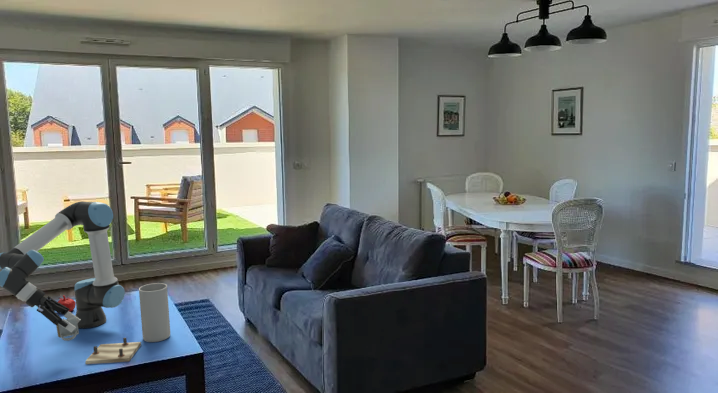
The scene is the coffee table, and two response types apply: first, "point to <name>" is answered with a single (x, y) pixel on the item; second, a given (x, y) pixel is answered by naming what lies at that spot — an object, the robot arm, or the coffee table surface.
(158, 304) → the cylinder vase
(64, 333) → the ceramic mug
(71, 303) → the red pumpkin
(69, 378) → the coffee table surface
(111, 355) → the post board
